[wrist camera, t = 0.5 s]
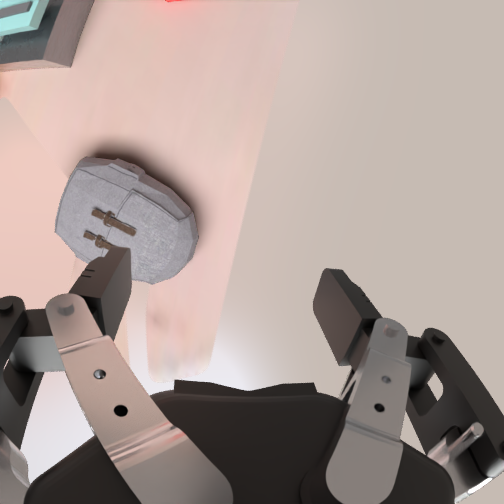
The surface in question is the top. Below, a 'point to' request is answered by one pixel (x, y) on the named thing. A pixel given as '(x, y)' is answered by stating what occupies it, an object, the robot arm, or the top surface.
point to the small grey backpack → (126, 218)
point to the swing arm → (20, 15)
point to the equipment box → (47, 38)
